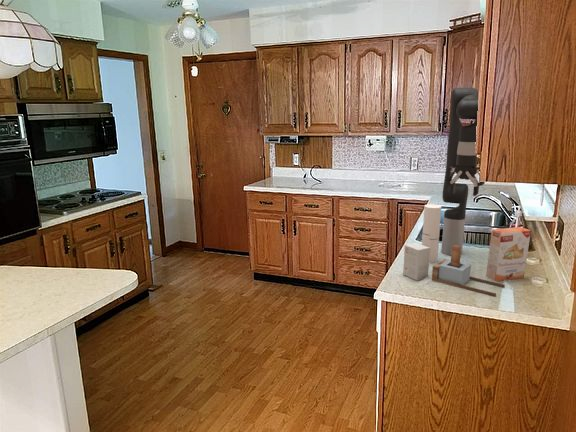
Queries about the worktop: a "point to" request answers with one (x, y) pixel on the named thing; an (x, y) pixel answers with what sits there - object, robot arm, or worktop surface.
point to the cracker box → (508, 253)
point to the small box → (416, 261)
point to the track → (435, 278)
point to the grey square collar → (454, 272)
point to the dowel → (455, 256)
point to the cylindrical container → (431, 230)
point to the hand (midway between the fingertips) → (463, 194)
